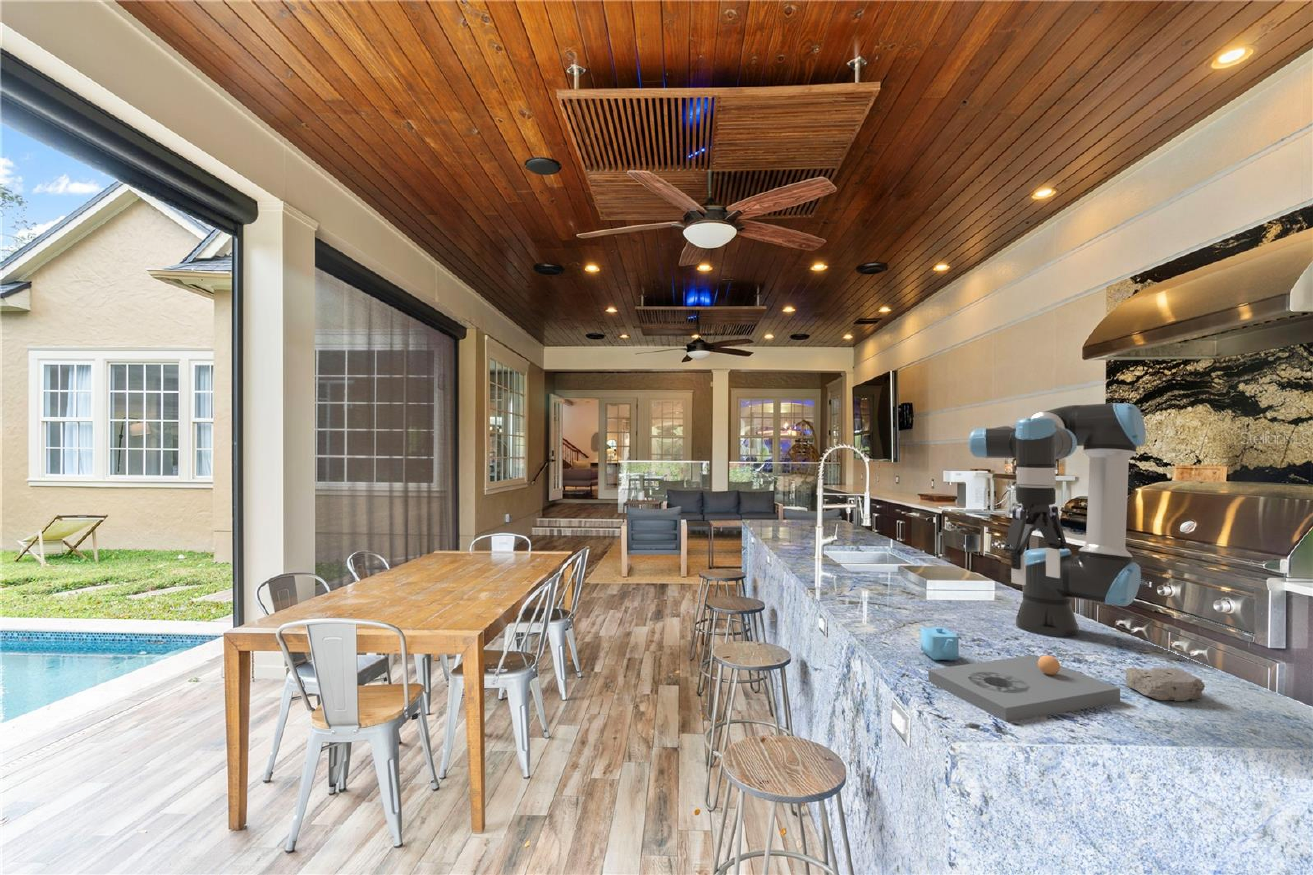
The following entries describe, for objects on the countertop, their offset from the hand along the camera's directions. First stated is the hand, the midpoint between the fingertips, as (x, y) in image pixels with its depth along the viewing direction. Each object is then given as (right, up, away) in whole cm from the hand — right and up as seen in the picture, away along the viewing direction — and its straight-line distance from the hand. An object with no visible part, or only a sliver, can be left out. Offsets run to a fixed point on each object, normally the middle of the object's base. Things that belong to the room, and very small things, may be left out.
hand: (1036, 580), depth 135 cm
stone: (+21, -19, -3) cm, 29 cm away
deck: (-8, -22, -8) cm, 25 cm away
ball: (-1, -17, -5) cm, 18 cm away
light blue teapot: (-16, -23, +12) cm, 30 cm away
